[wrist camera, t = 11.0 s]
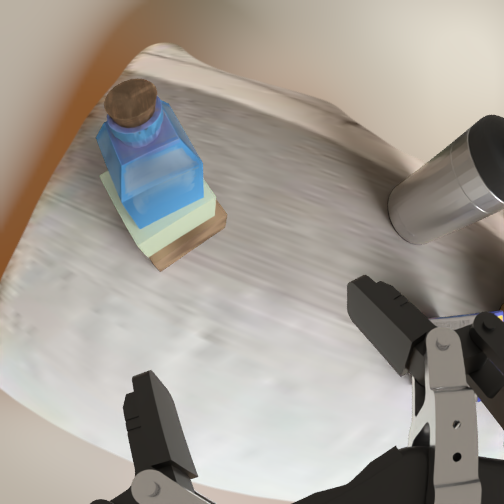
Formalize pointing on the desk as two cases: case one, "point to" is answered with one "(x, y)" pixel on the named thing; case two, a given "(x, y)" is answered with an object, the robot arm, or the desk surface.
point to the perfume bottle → (148, 153)
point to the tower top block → (163, 219)
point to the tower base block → (190, 240)
